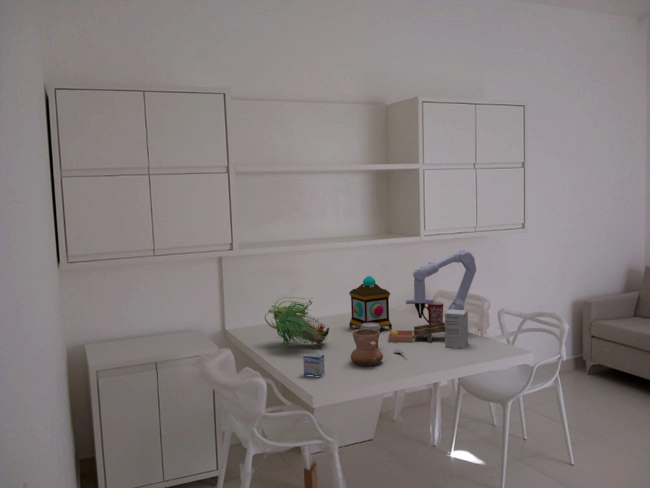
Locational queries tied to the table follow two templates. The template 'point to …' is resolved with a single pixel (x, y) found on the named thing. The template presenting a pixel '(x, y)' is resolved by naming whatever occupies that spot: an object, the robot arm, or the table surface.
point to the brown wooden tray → (429, 329)
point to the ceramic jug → (366, 347)
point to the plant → (296, 323)
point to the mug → (434, 313)
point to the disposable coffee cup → (371, 327)
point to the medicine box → (313, 364)
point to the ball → (394, 333)
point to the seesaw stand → (429, 337)
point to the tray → (401, 336)
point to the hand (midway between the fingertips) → (420, 317)
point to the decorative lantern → (370, 304)
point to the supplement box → (456, 328)
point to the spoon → (400, 352)
